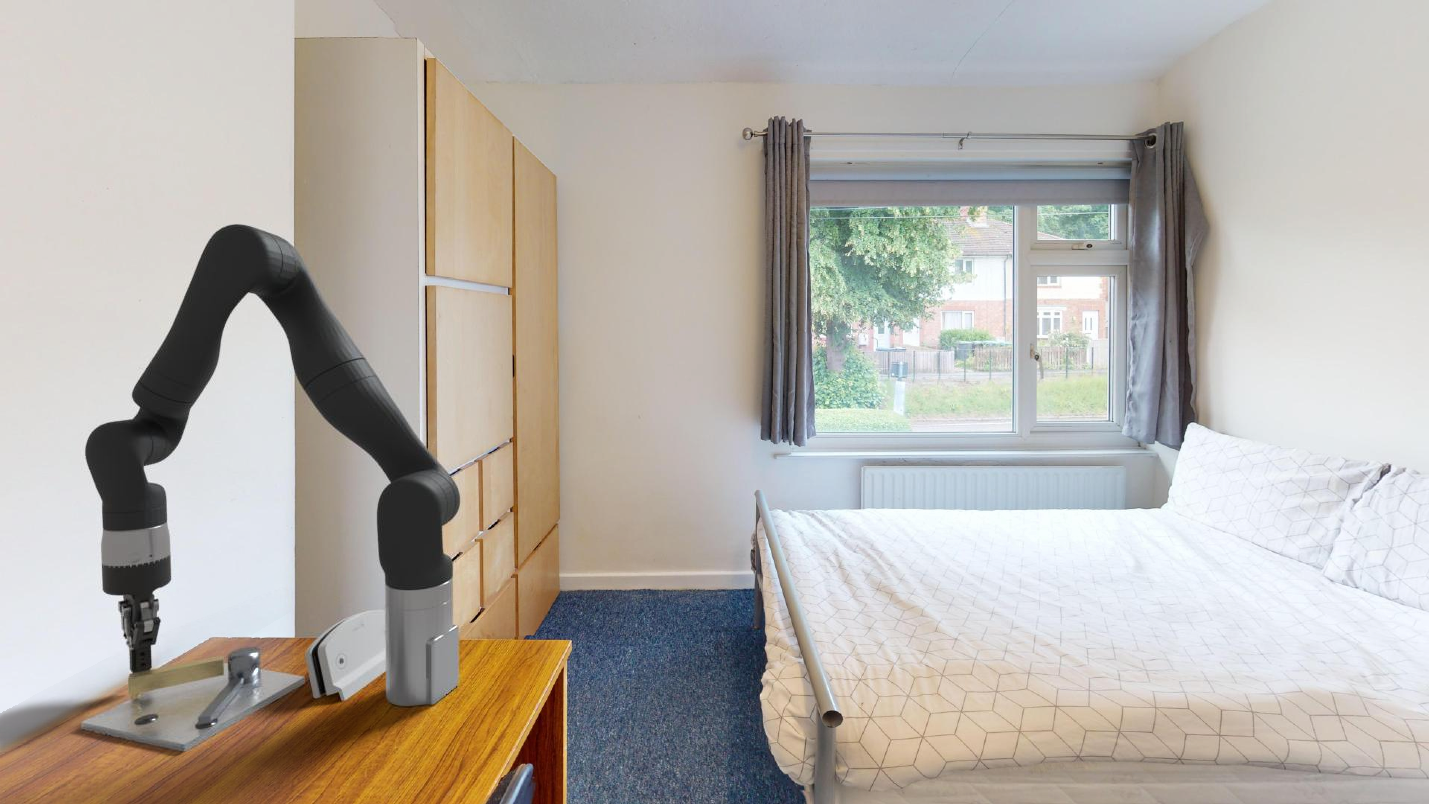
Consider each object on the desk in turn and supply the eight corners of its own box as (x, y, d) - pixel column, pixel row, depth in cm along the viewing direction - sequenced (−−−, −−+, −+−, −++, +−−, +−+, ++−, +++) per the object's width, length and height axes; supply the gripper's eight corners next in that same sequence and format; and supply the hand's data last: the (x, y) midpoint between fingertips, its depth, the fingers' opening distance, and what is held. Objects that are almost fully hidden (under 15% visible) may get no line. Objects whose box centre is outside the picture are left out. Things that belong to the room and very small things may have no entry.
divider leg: (224, 678, 98) (223, 655, 97) (223, 682, 96) (223, 659, 96) (130, 698, 91) (129, 673, 91) (129, 703, 90) (128, 678, 90)
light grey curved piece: (343, 702, 95) (321, 637, 95) (316, 709, 96) (294, 644, 95) (413, 651, 111) (395, 595, 111) (389, 657, 112) (371, 602, 112)
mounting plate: (305, 683, 100) (304, 651, 99) (184, 751, 82) (183, 713, 82) (214, 667, 104) (213, 636, 103) (81, 729, 86) (79, 693, 86)
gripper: (181, 559, 94) (185, 676, 95) (158, 541, 102) (162, 648, 103) (111, 572, 88) (116, 696, 89) (93, 551, 96) (97, 665, 97)
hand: (140, 670), depth 96 cm, fingers closed
